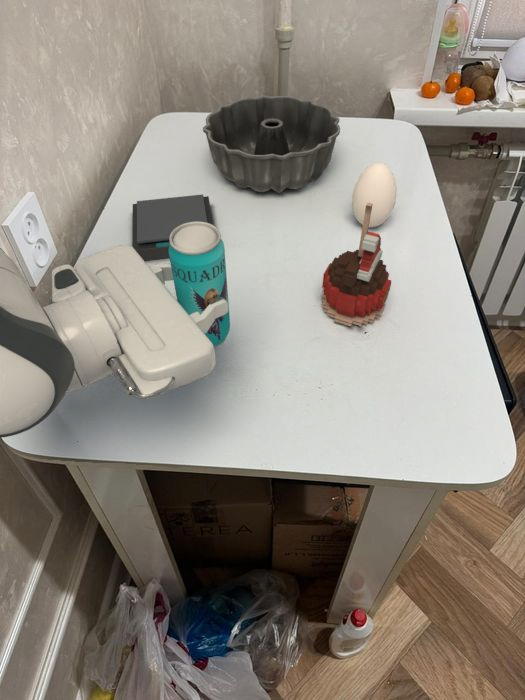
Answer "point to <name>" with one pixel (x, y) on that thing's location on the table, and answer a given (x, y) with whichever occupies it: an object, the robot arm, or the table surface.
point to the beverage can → (200, 272)
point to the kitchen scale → (165, 222)
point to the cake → (357, 281)
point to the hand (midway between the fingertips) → (208, 284)
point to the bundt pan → (271, 141)
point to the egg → (374, 194)
